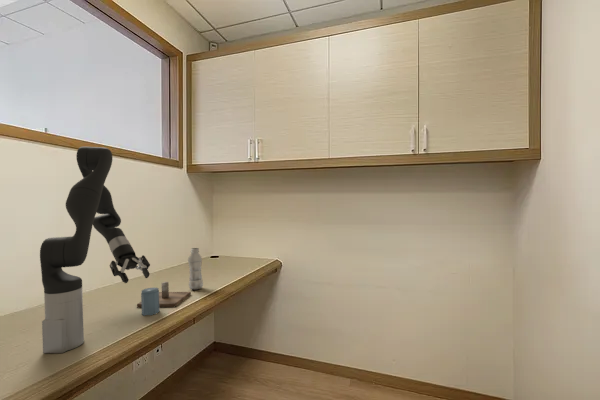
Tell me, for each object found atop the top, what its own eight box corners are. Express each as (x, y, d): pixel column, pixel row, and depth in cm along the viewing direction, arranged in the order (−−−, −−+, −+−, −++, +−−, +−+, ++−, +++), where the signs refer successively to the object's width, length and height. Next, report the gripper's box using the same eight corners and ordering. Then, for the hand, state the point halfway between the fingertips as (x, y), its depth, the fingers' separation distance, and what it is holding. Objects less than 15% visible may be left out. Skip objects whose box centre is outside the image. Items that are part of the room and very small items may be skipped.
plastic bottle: (198, 291, 147) (197, 249, 147) (186, 290, 148) (184, 249, 148) (205, 287, 153) (204, 247, 153) (193, 287, 154) (192, 247, 154)
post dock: (175, 307, 126) (174, 287, 126) (137, 307, 126) (136, 288, 126) (190, 294, 142) (190, 277, 142) (156, 295, 142) (156, 278, 142)
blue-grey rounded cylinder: (154, 315, 117) (154, 291, 117) (138, 315, 117) (137, 292, 117) (162, 309, 123) (161, 287, 123) (147, 310, 123) (146, 287, 123)
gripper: (106, 245, 123) (123, 277, 117) (141, 241, 135) (157, 269, 129) (100, 258, 126) (116, 289, 120) (135, 252, 138) (150, 280, 132)
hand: (137, 279), depth 124 cm, fingers open, 8 cm apart
